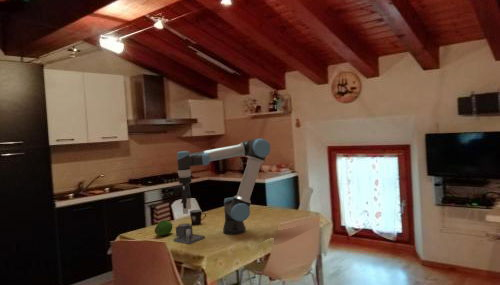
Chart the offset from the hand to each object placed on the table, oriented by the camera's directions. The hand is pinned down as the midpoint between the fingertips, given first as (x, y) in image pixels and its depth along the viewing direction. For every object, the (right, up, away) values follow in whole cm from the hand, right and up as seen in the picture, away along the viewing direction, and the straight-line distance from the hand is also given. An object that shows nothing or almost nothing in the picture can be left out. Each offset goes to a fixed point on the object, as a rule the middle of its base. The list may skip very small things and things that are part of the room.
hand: (187, 211), depth 231 cm
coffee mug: (0, -19, +49) cm, 52 cm away
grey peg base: (0, -20, +9) cm, 22 cm away
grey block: (-5, -20, +21) cm, 29 cm away
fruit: (-20, -21, +23) cm, 37 cm away
